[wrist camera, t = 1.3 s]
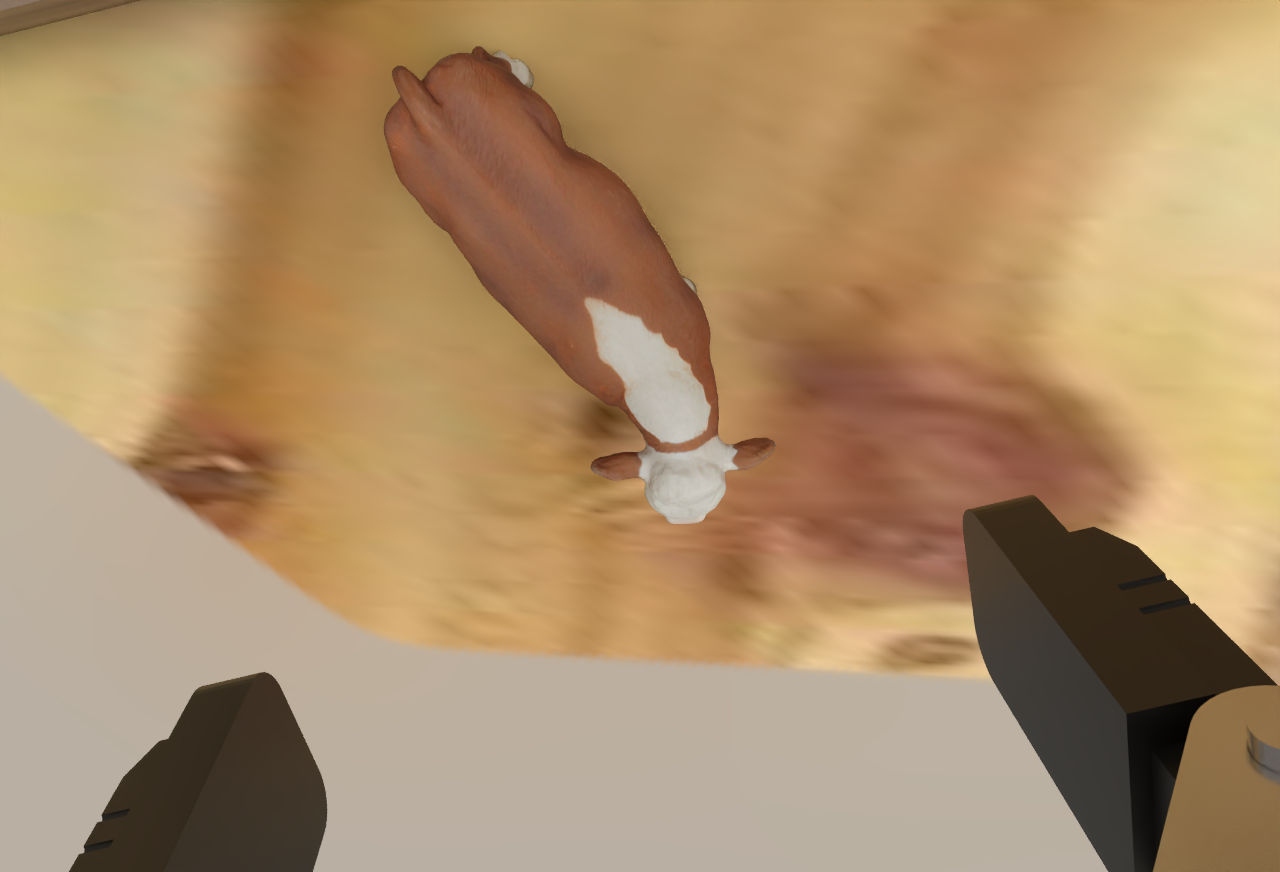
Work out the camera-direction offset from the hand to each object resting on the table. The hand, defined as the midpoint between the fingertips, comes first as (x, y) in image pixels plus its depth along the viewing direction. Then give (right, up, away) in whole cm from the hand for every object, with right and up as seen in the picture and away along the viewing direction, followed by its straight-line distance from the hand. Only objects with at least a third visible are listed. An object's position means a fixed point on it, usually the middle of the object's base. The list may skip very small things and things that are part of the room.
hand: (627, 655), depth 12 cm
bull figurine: (-1, +8, +19) cm, 20 cm away
